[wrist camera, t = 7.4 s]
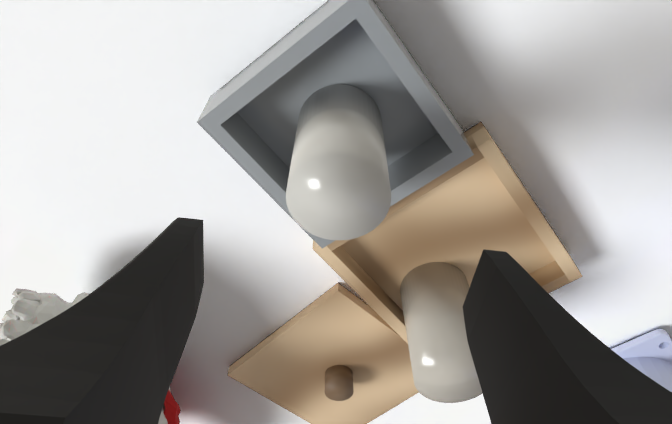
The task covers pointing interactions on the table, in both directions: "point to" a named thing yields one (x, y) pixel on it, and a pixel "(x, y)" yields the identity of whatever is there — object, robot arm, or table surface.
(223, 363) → the table surface
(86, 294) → the white and red lump
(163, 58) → the table surface
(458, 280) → the grey capsule cylinder
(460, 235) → the oak box
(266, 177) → the slate dish
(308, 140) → the pale grey capsule
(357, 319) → the oak lid
